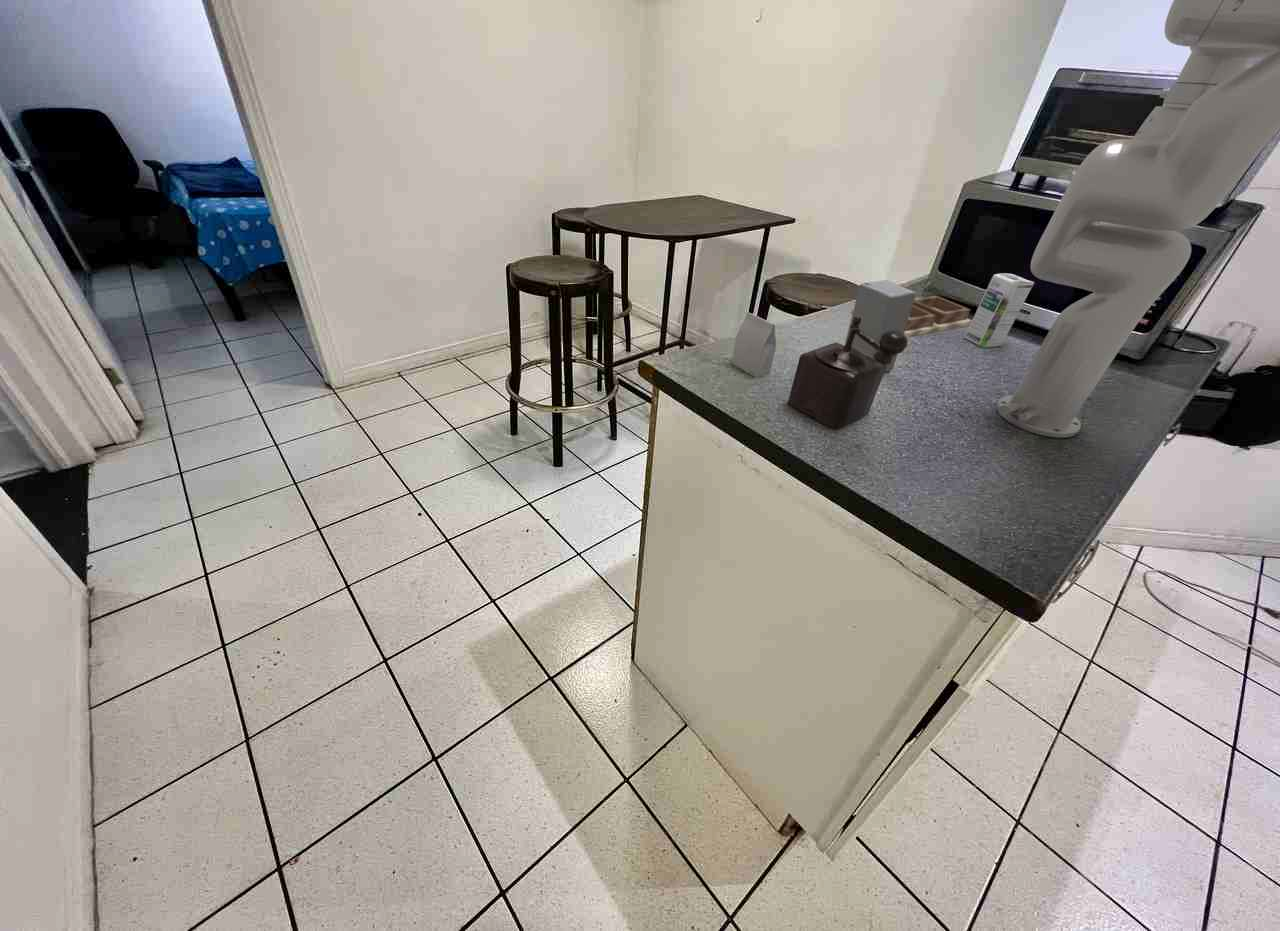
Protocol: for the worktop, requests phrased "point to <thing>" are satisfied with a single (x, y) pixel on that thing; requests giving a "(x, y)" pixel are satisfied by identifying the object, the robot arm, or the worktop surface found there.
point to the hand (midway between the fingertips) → (1130, 210)
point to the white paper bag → (755, 346)
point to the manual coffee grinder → (842, 378)
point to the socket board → (934, 316)
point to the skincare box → (881, 313)
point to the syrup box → (998, 310)
